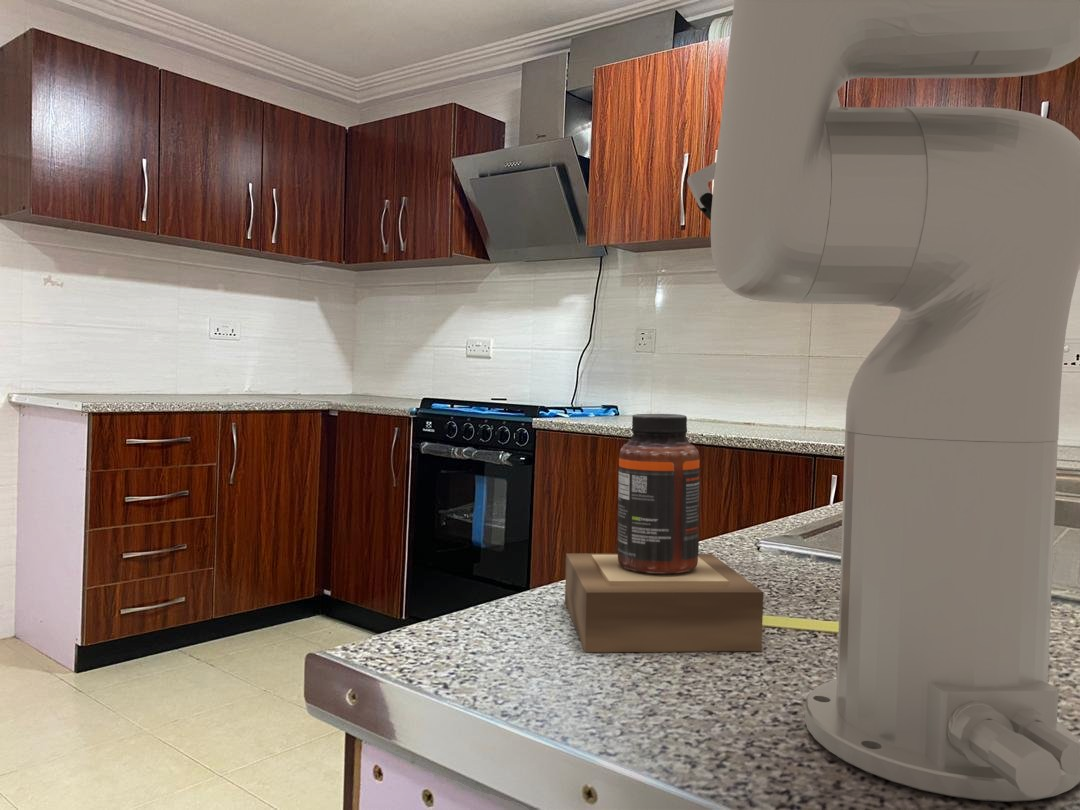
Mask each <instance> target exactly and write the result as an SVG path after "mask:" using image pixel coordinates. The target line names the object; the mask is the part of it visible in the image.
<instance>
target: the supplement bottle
mask: <svg viewBox="0 0 1080 810" xmlns="http://www.w3.org/2000/svg"><path fill="white" fill-rule="evenodd" d="M631 421H632V426H631V427H632V428H631V431H632V433H633V434H632V436H631V437H630V438H629V440H628V441H627V442H626V443H624V444H623V445H622V446H621V448H620V450H619V453H618V499H617V500H618V501H617V502H618V503H617V504H618V505H617V507H618V508H617V509H618V510H617V554H618V562H619V564H620V565H621V566H623V567H624V568H625V569H627V570H631V571H635V572H641V573H647V574H656V575H666V574H681V573H686V572H688V571H690V570H692V569H694V568H695V567H696V566H697V564H698V554H700V553H699V544H700V543H699V539H700V537H699V535H700V534H699V531H700V527H699V526H700V481H701V480H700V474H701V473H700V472H701V471H700V470H701V469H700V468H701V467H700V453H699V452H700V451H699V450H698V449H697V448H696V446H695V445H694V444H692V443H690V442H689V439H688V438H687V435H686V434H687V432H688V427H687V426H688V424H687V423H688V419H687V416H686V415H685V414H676V413H675V414H674V413H639V414H638V413H637V414H636V413H635V414H633V415H632V420H631Z"/></svg>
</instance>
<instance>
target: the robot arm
mask: <svg viewBox="0 0 1080 810" xmlns="http://www.w3.org/2000/svg"><path fill="white" fill-rule="evenodd" d="M1078 58H1080V0H734V2H733V8H732V18H731V28H730V37H729V46H728V54H727V63H726V73H725V81H724V88H723V99H722V106H721V107H722V108H721V117H720V124H719V125H720V126H719V134H718V135H719V136H718V144H717V153H716V160H715V162H713V163H712V164H709V165H707V166H705V167H703V168H701V169H699V170H696V171H694V172H693V173H691V175H689V176H688V178H687V180H686V182H687V185H688V187H689V190H690V192H691V193H692V196H693V198H694V199H695V201H696V206H697V208H698V209H699V210H700V211H701V212H702V213H703V215H704V216H705V217H706V218H707V219H708V220H709V221H710V232H709V233H710V247H711V248H710V249H711V256H712V262H713V265H714V268H715V272H716V273H717V275H718V277H719V279H720V281H721V282H722V283H723V285H724V286H725V287H726V288H727V289H728V290H730V291H732V293H734V294H736V295H739V296H741V297H743V298H746V299H749V300H753V301H759V302H769V303H785V304H787V303H788V304H789V303H790V304H817V305H819V304H821V305H822V304H823V305H825V304H826V305H872V306H873V305H874V306H877V307H890V308H891V307H893V308H897V309H899V310H900V312H899V315H898V317H897V319H896V320H895V322H894V323H893V324H892V326H891V327H890V328H889V330H888V331H887V332H886V334H885V335H883V337H882V338H881V340H879V342H878V343H877V344H876V346H875V347H874V348H873V349H872V351H871V352H869V354H868V355H867V356H866V358H865V360H864V361H863V362H862V364H860V366H859V368H858V370H857V372H856V373H855V376H854V377H853V379H852V380H853V381H851V382H852V383H851V385H850V388H849V392H848V396H847V400H846V409H845V427H844V428H845V430H844V450H843V451H844V452H843V453H844V456H843V482H842V483H843V484H842V485H843V486H842V487H843V488H842V516H841V543H840V577H839V578H840V579H839V603H838V604H839V605H838V607H839V609H838V637H837V638H838V639H837V640H838V641H837V665H836V666H837V667H836V669H837V670H836V673H837V674H836V679H831V680H829V681H827V682H824V683H822V684H820V685H818V686H816V687H815V688H814V689H812V690H811V691H810V692H809V693H808V694H807V696H806V697H805V704H804V709H805V710H804V721H805V724H806V728H807V730H808V731H809V733H810V734H811V736H812V737H813V739H814V740H816V742H817V743H819V744H820V745H821V746H823V748H825V749H826V750H827V751H828V752H830V753H832V754H833V756H834V755H835V756H836V757H837V758H839V759H841V760H842V761H844V762H845V763H848V764H850V765H852V766H854V767H856V768H857V769H860V770H862V771H864V772H866V773H869V774H871V775H874V776H876V777H879V778H882V779H885V780H887V781H890V782H892V783H896V784H899V785H903V786H907V787H909V788H914V789H916V790H919V791H924V792H930V793H933V794H939V795H944V796H948V797H955V798H962V799H967V800H968V799H969V800H976V801H988V802H989V801H990V802H991V801H992V802H1005V803H1006V802H1008V803H1009V802H1011V803H1012V802H1025V801H1026V802H1029V801H1037V800H1043V799H1048V798H1053V797H1056V796H1059V795H1060V794H1064V793H1066V792H1068V791H1070V790H1072V789H1073V788H1075V787H1076V786H1077V785H1078V784H1079V783H1080V741H1079V739H1078V738H1077V737H1076V736H1075V735H1074V734H1072V732H1071V731H1069V729H1068V728H1067V727H1065V725H1063V724H1061V723H1059V722H1058V712H1059V710H1058V709H1059V688H1057V687H1055V686H1053V685H1051V684H1049V683H1048V682H1049V681H1048V680H1049V661H1050V659H1049V658H1050V656H1049V655H1050V638H1051V637H1050V633H1051V611H1052V610H1051V609H1052V592H1053V591H1052V590H1053V589H1052V588H1053V587H1052V586H1053V585H1052V584H1053V567H1054V566H1053V563H1054V561H1053V560H1054V543H1055V542H1054V539H1055V538H1054V537H1055V536H1054V535H1055V517H1056V515H1055V513H1056V494H1057V493H1056V491H1057V489H1056V488H1057V471H1058V470H1057V468H1058V467H1057V464H1058V463H1057V462H1058V441H1059V431H1060V410H1061V408H1060V407H1061V387H1062V377H1063V375H1062V374H1063V361H1064V352H1065V343H1066V334H1067V327H1068V322H1069V315H1070V310H1071V304H1072V298H1073V294H1074V290H1075V286H1076V281H1077V278H1078V273H1079V269H1080V139H1079V137H1077V136H1076V135H1075V134H1074V133H1073V132H1072V131H1071V130H1069V129H1068V128H1067V127H1065V126H1064V125H1063V124H1060V123H1058V122H1057V121H1054V120H1052V119H1049V118H1047V117H1045V116H1042V115H1038V114H1035V113H1033V112H1032V113H1031V112H1028V111H1027V112H1026V111H1020V110H1017V109H1016V110H1015V109H1010V108H1000V107H999V108H997V107H987V106H986V107H985V106H983V107H982V106H977V107H976V106H974V107H973V106H915V105H914V106H906V105H904V106H903V105H902V106H896V107H858V106H857V107H856V106H853V107H852V106H850V107H847V106H844V107H843V106H841V103H840V98H839V95H838V94H839V93H838V91H839V90H840V89H841V87H843V85H844V84H845V83H846V82H848V81H850V80H855V79H861V78H864V79H993V78H994V79H995V78H1013V77H1015V78H1016V77H1023V76H1032V75H1038V74H1043V73H1046V72H1050V71H1055V70H1058V69H1060V68H1063V67H1064V66H1066V65H1068V64H1070V63H1072V62H1075V60H1077V59H1078ZM711 181H713V188H712V192H711V190H710V187H709V182H711Z"/></svg>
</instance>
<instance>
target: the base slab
mask: <svg viewBox="0 0 1080 810" xmlns="http://www.w3.org/2000/svg"><path fill="white" fill-rule="evenodd" d="M564 583H565V587H564V588H565V590H564V593H565V594H564V604H565V606H566V608H567V611H568V614H569V616H570V618H571V620H572V623H573V626H574V628H575V631H576V633H577V635H578V638H579V641H580V643H581V645H582V648H583V651H584V653H654V652H655V653H661V652H662V653H666V652H667V653H668V652H669V653H670V652H671V653H674V652H681V653H682V652H684V653H685V652H689V653H690V652H695V653H696V652H697V653H698V652H763V651H762V647H763V646H762V645H763V619H764V617H763V616H764V615H763V614H764V613H763V612H764V591H762V590H761V589H760V588H759V587H757V586H756V585H754V584H753V583H751V582H750V581H749V580H748V579H746V578H745V577H743V575H741V574H739V573H738V572H737V571H736V570H734V569H733V568H731V567H730V566H729V565H727V564H726V563H724V562H723V561H722V560H721V559H719V558H718V557H717V556H715V555H714V554H713V553H699V554H698V564H697V566H696V567H695V568H694V569H692V570H690V571H688V572H686V573H681V574H666V575H656V574H647V573H641V572H635V571H631V570H627V569H625V568H624V567H623V566H621V565H620V564H619V562H618V553H572V552H571V553H568V552H567V553H565V582H564Z"/></svg>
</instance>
